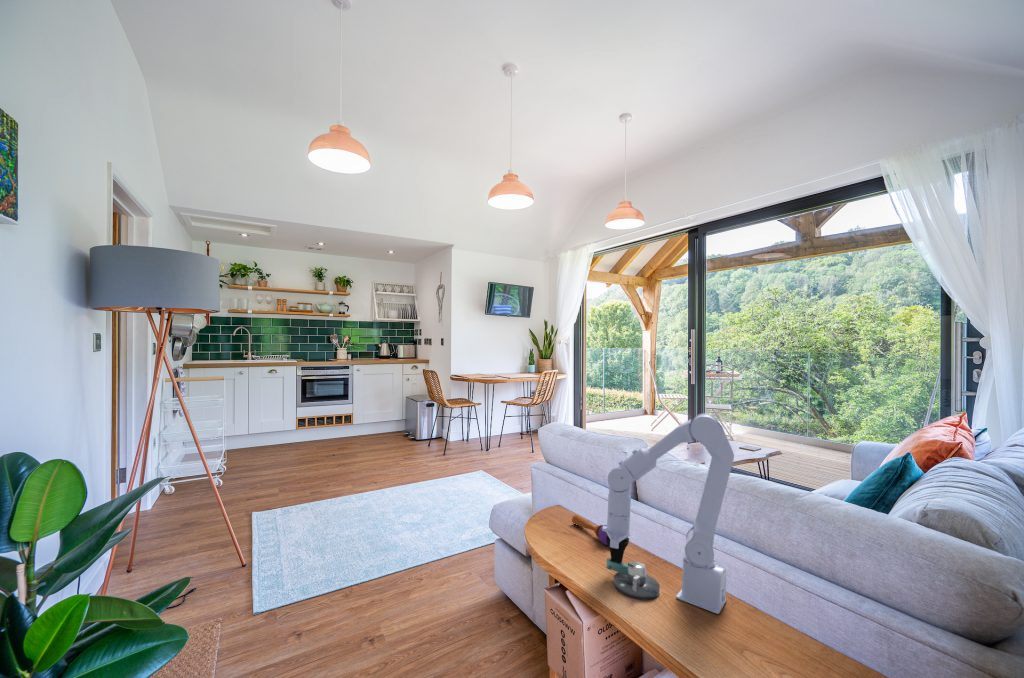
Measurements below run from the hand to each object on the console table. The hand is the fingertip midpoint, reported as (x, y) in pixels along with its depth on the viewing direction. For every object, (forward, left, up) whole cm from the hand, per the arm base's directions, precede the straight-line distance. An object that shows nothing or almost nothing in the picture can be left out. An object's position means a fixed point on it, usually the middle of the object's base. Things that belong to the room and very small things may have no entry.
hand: (616, 565), depth 111 cm
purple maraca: (+17, -21, -3) cm, 27 cm away
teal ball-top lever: (-3, +1, -1) cm, 4 cm away
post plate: (-6, +1, -3) cm, 7 cm away
